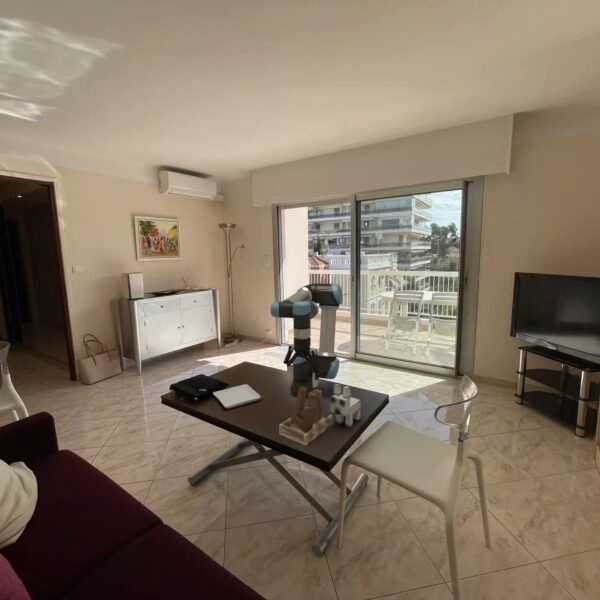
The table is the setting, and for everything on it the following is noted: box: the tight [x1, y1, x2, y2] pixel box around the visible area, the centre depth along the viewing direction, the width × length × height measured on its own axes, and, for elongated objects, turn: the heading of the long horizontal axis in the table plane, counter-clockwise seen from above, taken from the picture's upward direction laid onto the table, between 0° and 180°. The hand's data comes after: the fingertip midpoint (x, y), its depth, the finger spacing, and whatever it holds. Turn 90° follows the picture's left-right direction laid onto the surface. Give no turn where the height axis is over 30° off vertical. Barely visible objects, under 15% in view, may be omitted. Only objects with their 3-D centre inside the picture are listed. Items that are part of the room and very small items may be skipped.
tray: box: [278, 405, 334, 447], centre depth 148 cm, size 22×15×4 cm
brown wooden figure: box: [290, 386, 318, 433], centre depth 143 cm, size 4×11×18 cm, turn 45°
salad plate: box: [212, 383, 262, 409], centre depth 180 cm, size 21×21×3 cm
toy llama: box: [330, 382, 362, 428], centre depth 153 cm, size 8×18×20 cm, turn 141°
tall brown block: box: [307, 388, 323, 423], centre depth 153 cm, size 6×4×14 cm, turn 143°
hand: (302, 382), depth 143 cm, fingers open, 13 cm apart
